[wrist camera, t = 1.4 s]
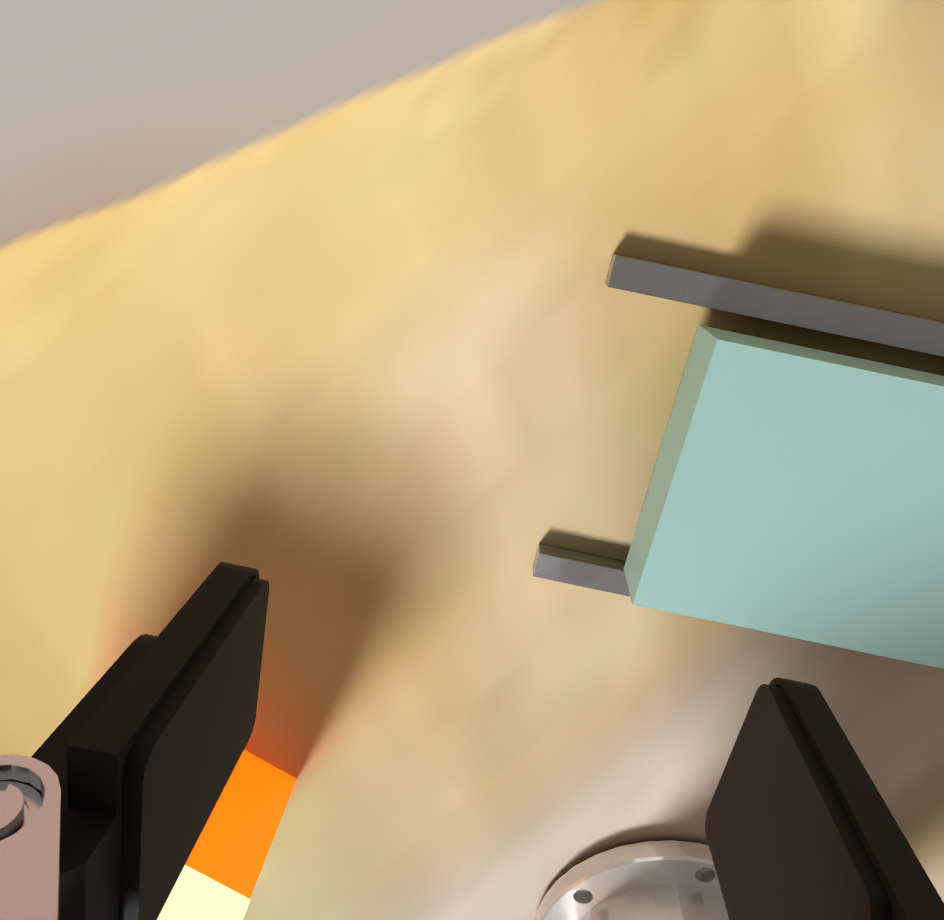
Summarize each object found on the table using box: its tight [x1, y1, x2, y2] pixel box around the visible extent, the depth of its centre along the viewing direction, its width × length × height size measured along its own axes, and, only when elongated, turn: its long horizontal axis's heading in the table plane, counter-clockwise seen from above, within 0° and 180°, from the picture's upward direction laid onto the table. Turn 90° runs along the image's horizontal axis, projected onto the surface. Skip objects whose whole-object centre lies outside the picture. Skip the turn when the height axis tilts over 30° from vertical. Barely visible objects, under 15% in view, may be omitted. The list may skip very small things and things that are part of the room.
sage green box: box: [624, 325, 944, 669], centre depth 24 cm, size 9×11×4 cm
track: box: [533, 254, 944, 597], centre depth 25 cm, size 12×26×3 cm, turn 79°
